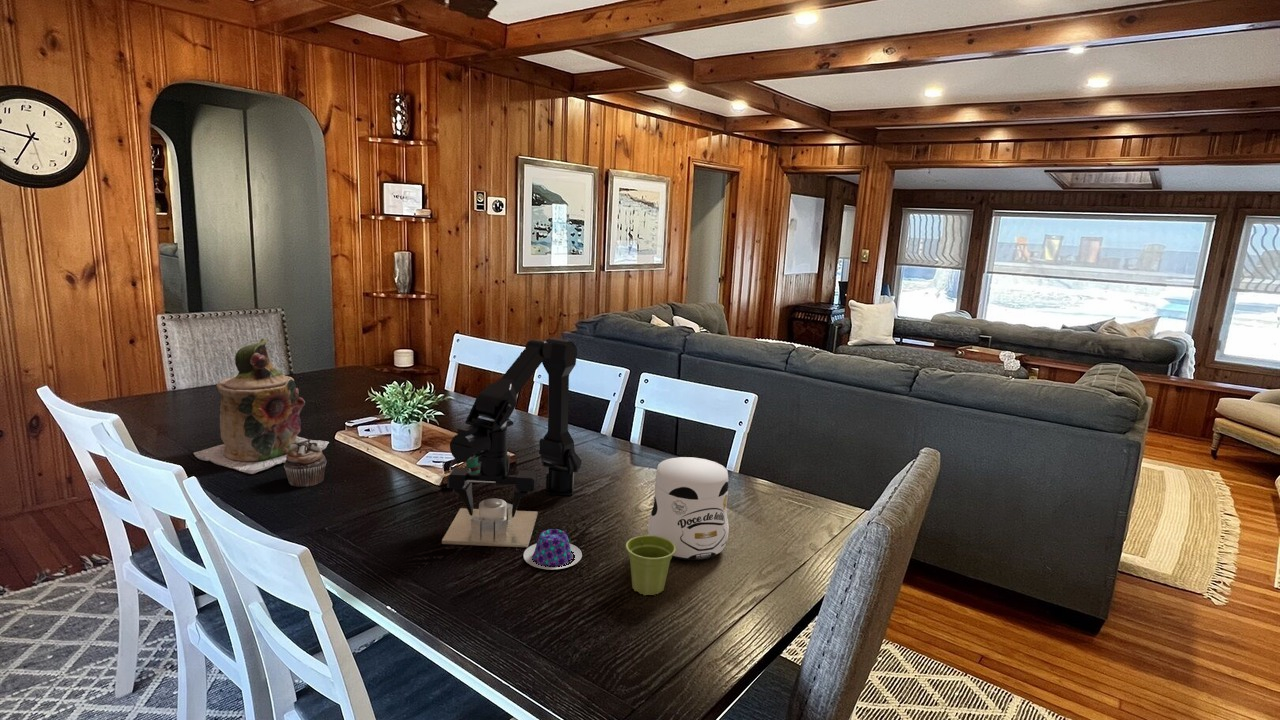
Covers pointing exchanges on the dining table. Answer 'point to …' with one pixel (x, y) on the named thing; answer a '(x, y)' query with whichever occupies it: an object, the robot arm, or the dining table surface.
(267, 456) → the cookie jar
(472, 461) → the binoculars
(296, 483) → the cupcake
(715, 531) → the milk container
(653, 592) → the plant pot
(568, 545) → the pudding
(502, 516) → the cap
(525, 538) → the wooden board
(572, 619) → the dining table surface
